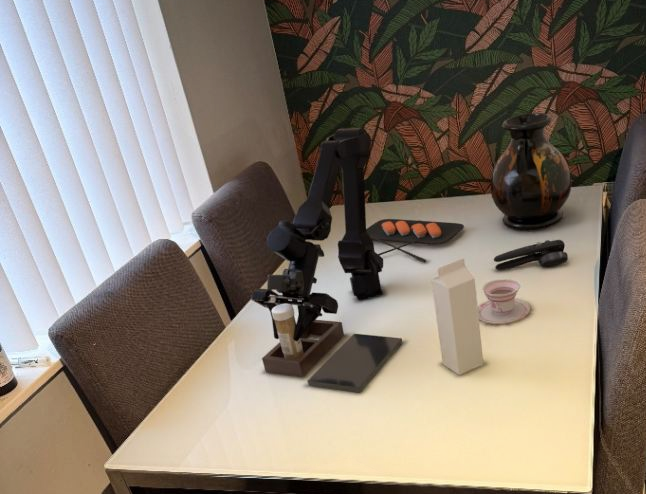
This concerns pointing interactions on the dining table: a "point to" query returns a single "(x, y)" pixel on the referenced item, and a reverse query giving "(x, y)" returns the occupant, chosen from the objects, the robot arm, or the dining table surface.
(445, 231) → the sushi plate
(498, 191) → the dark ceramic vase
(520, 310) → the teacup
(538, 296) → the dining table surface
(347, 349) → the slate board
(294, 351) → the sprinkles bottle
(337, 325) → the spice rack
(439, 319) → the milk
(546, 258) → the can opener
